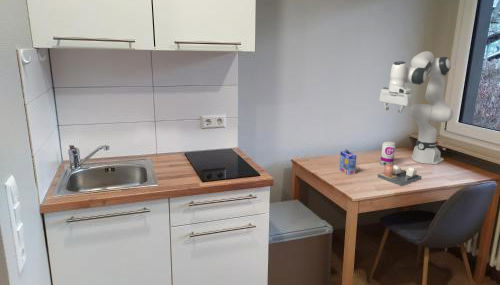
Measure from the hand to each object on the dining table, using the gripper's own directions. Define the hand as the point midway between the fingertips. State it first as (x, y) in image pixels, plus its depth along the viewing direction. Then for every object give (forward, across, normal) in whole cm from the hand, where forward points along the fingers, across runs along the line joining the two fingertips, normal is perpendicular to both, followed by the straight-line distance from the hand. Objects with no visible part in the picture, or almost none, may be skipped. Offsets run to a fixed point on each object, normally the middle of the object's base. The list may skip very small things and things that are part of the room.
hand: (393, 111), depth 225 cm
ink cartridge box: (+37, -8, -28) cm, 47 cm away
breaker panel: (+37, +16, -9) cm, 41 cm away
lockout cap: (+35, +13, -16) cm, 40 cm away
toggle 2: (+35, +20, -4) cm, 40 cm away
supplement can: (+37, -4, +6) cm, 38 cm away
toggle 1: (+35, +13, -9) cm, 38 cm away
